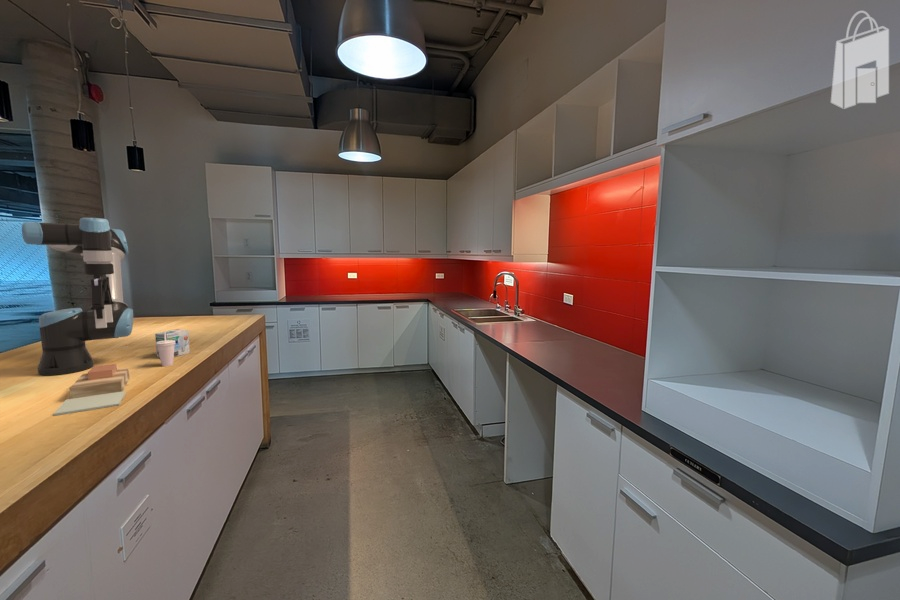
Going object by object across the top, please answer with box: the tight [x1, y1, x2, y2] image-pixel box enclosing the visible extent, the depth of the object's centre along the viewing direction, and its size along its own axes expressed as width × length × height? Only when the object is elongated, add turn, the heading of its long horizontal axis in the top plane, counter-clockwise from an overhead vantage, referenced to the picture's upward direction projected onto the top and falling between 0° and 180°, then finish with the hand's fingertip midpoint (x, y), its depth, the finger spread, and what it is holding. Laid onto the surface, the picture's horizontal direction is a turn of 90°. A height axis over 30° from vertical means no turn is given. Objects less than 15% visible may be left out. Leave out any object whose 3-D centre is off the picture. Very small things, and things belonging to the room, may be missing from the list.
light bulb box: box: [154, 328, 190, 359], centre depth 166 cm, size 11×7×11 cm, turn 167°
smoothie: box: [155, 331, 175, 367], centre depth 152 cm, size 6×6×14 cm
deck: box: [69, 368, 130, 399], centre depth 125 cm, size 16×12×4 cm
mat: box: [53, 390, 127, 417], centre depth 114 cm, size 12×14×1 cm
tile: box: [87, 363, 118, 380], centre depth 128 cm, size 8×6×2 cm
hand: (104, 324), depth 134 cm, fingers open, 10 cm apart
